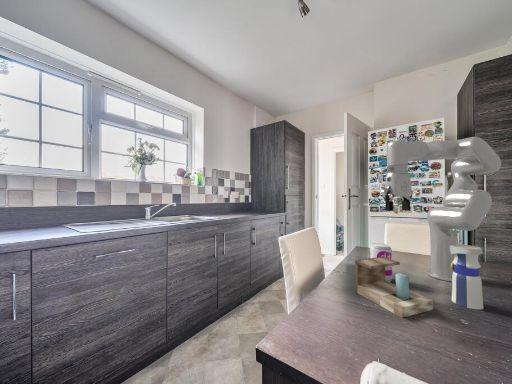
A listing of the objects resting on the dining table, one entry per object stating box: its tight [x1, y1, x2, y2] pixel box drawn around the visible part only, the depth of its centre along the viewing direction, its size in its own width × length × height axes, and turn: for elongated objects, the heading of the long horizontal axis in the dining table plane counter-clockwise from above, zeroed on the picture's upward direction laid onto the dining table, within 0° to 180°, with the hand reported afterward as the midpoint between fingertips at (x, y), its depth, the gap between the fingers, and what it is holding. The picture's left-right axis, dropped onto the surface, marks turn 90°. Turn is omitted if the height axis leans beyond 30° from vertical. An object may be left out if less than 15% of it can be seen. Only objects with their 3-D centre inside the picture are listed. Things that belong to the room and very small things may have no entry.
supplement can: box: [369, 242, 393, 283], centre depth 93 cm, size 8×8×15 cm
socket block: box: [354, 257, 434, 319], centre depth 75 cm, size 14×18×12 cm
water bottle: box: [450, 228, 484, 310], centre depth 72 cm, size 8×9×25 cm
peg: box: [395, 272, 410, 301], centre depth 71 cm, size 4×4×10 cm
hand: (397, 210), depth 90 cm, fingers open, 9 cm apart
